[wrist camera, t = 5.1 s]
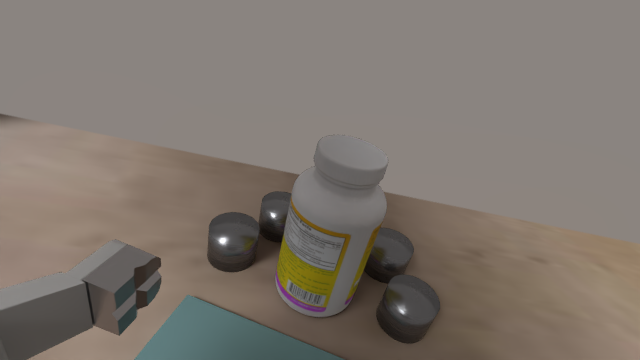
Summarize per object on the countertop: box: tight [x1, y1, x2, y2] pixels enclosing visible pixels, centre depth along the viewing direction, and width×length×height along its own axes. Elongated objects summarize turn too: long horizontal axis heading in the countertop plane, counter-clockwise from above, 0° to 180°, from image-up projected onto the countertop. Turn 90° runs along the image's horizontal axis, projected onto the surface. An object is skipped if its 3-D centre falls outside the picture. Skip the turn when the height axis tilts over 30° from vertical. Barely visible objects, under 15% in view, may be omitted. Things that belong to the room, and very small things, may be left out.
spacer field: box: [207, 192, 440, 343], centre depth 30 cm, size 19×12×3 cm, turn 74°
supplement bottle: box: [275, 135, 388, 317], centre depth 25 cm, size 7×7×13 cm
